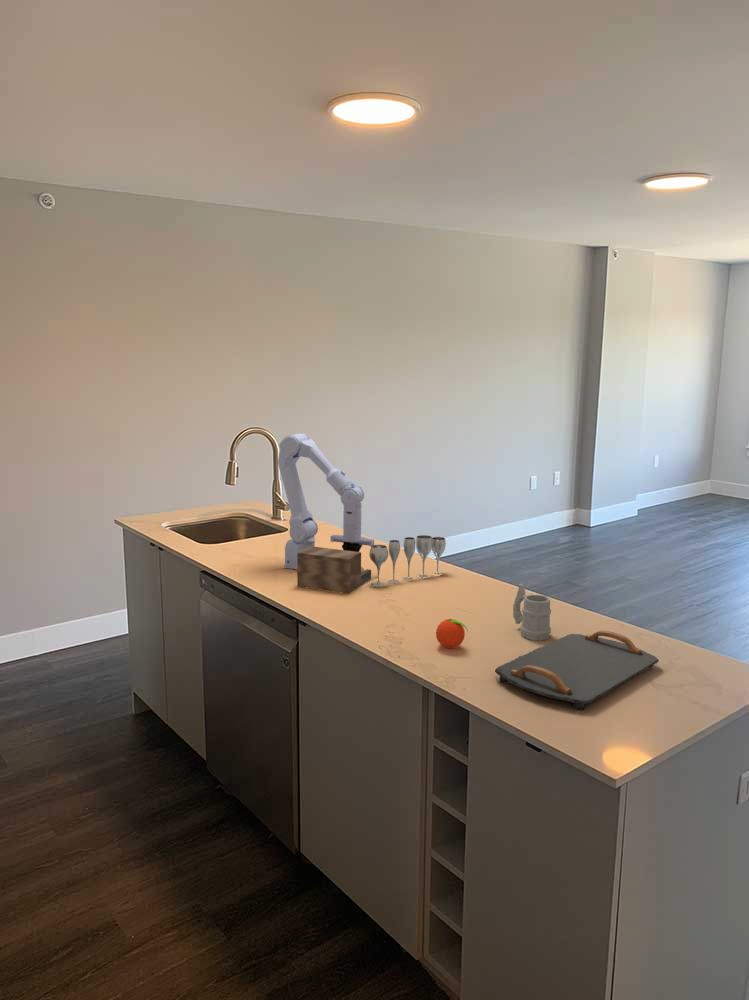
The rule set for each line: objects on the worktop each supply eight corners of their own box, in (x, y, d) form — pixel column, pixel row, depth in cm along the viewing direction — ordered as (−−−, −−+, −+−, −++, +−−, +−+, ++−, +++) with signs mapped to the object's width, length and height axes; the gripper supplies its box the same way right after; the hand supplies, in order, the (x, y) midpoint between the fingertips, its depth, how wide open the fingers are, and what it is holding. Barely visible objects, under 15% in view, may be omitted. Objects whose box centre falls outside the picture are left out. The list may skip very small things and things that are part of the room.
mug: (535, 643, 189) (537, 596, 187) (502, 629, 199) (504, 584, 196) (557, 637, 193) (560, 591, 191) (523, 623, 203) (526, 580, 201)
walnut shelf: (297, 586, 233) (297, 552, 231) (322, 572, 248) (322, 540, 246) (348, 593, 226) (348, 559, 224) (371, 579, 241) (371, 546, 240)
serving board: (579, 721, 150) (581, 691, 148) (483, 684, 165) (484, 657, 164) (666, 667, 177) (668, 641, 176) (576, 640, 193) (577, 616, 191)
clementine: (472, 645, 187) (473, 617, 185) (463, 655, 181) (464, 626, 179) (441, 640, 190) (441, 612, 189) (431, 649, 184) (432, 621, 182)
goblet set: (437, 571, 252) (439, 531, 249) (448, 575, 247) (450, 535, 245) (365, 583, 237) (366, 541, 235) (375, 588, 232) (376, 545, 230)
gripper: (378, 524, 246) (377, 565, 249) (337, 519, 252) (336, 559, 254) (369, 528, 240) (368, 570, 242) (327, 523, 245) (327, 565, 248)
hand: (351, 565), depth 248 cm, fingers closed
